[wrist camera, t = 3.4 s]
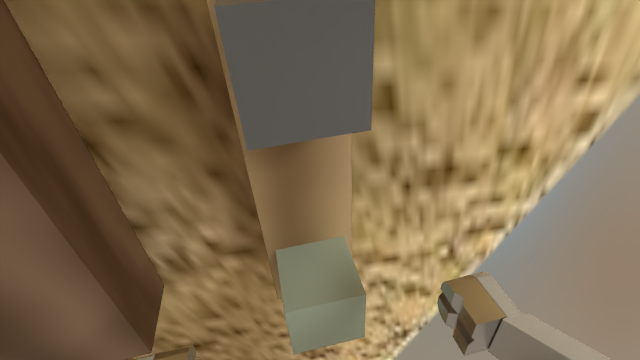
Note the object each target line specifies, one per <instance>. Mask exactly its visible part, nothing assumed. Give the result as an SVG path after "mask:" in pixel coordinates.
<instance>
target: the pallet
mask: <svg viewBox="0 0 640 360" xmlns="http://www.w3.org/2000/svg"><path fill="white" fill-rule="evenodd" d="M215 1H216V0H207V5H208V9H209V13H210V17H211V21H212V25H213V30H214V34H215V38H216V42H217V46H218V51H219V55H220V59H221V63H222V67H223V71H224V76H225V80H226V84H227V88H228V92H229V96H230V101H231V105H232V109H233V113H234V117H235V122H236V126H237V130H238V134H239V138H240V142H241V147H242V151H243V155H244V159H245V163H246V167H247V172H248V176H249V180H250V184H251V188H252V193H253V197H254V201H255V205H256V209H257V213H258V218H259V222H260V226H261V230H262V234H263V238H264V243H265V247H266V251H267V255H268V259H269V263H270V268H271V272H272V276H273V280H274V284H275V289H276V293H277V297H278V299H279V298H282V292H281V285H280V278H279V271H278V264H277V257H276V250H279V249H284V248H289V247H294V246H298V245H303V244H308V243H313V242H318V241H323V240H327V239H332V238H337V237H342V236H344V238H345V241H346V243H347V246H348V248H349V251H350V254H351V256H352V161H351V133H350V134H344V135H338V136H332V137H326V138H320V139H314V140H308V141H302V142H296V143H290V144H284V145H278V146H272V147H266V148H260V149H254V150H248V151H247V148H246V143H245V139H244V134H243V130H242V126H241V121H240V117H239V113H238V108H237V104H236V100H235V95H234V91H233V87H232V82H231V78H230V73H229V69H228V65H227V60H226V56H225V52H224V47H223V43H222V39H221V34H220V30H219V26H218V21H217V17H216V12H215V8H214V5H215Z"/></svg>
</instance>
